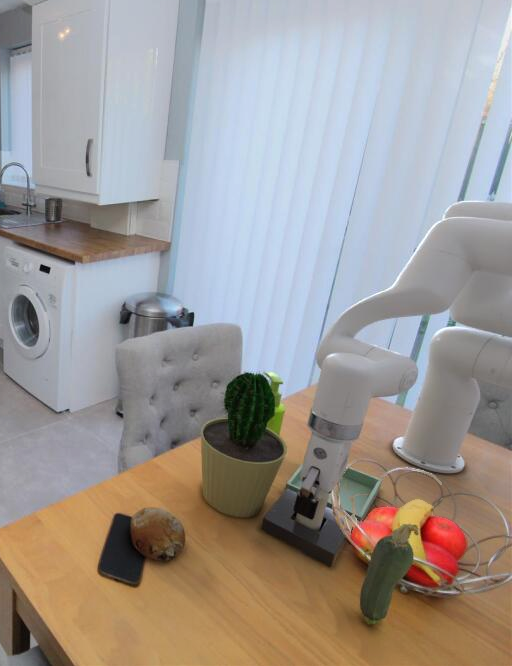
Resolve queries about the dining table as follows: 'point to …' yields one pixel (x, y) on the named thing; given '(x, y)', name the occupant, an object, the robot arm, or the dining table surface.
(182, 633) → the dining table surface
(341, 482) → the green tray
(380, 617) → the vegetable
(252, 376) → the potted cactus
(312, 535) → the block
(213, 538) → the dining table surface
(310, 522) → the plug
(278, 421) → the soap dispenser
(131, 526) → the bread roll
